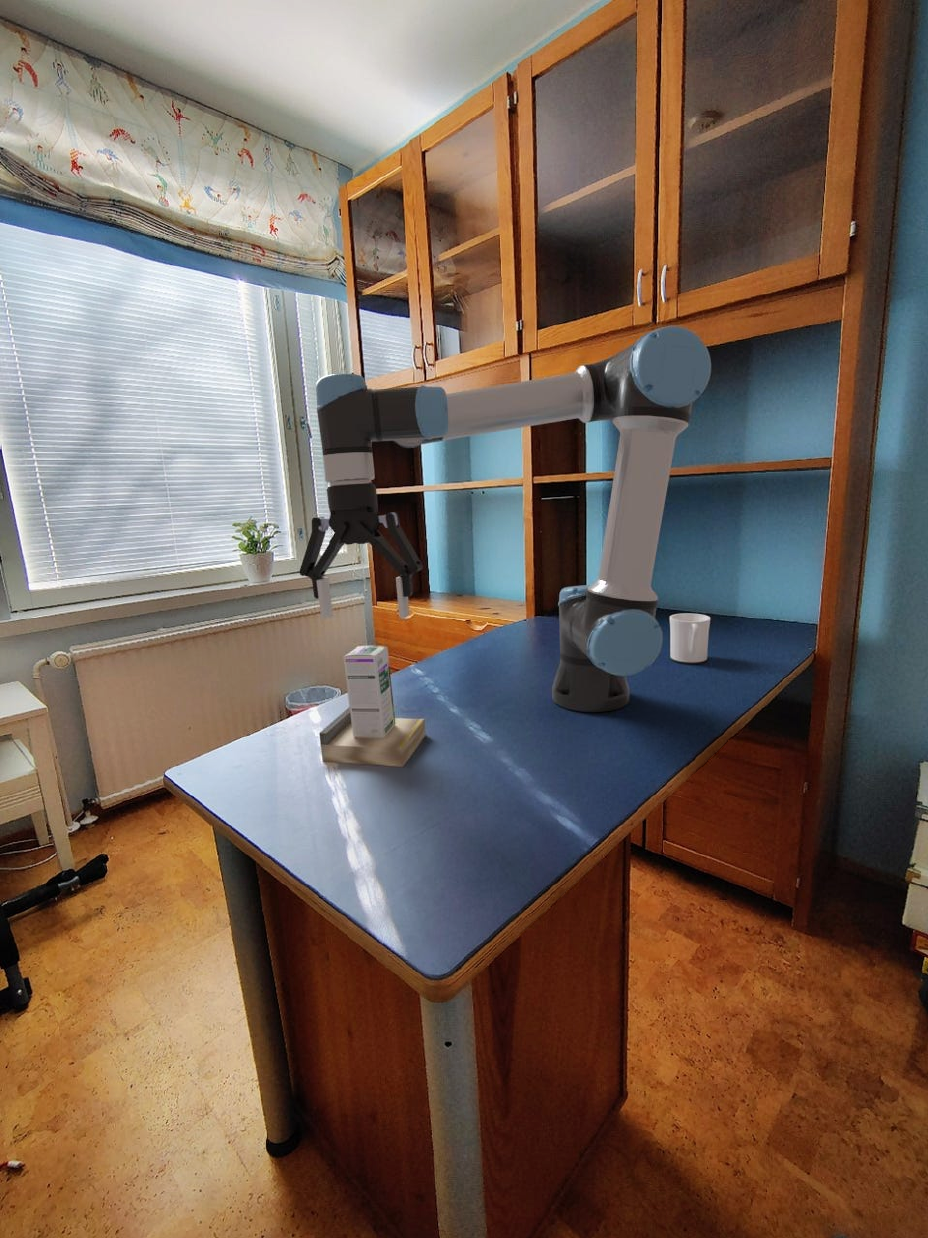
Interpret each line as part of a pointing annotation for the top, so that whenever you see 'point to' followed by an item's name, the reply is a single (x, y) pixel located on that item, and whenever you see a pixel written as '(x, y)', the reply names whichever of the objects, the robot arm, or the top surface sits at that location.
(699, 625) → the mug
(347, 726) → the dock
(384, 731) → the syrup box
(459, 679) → the top surface
